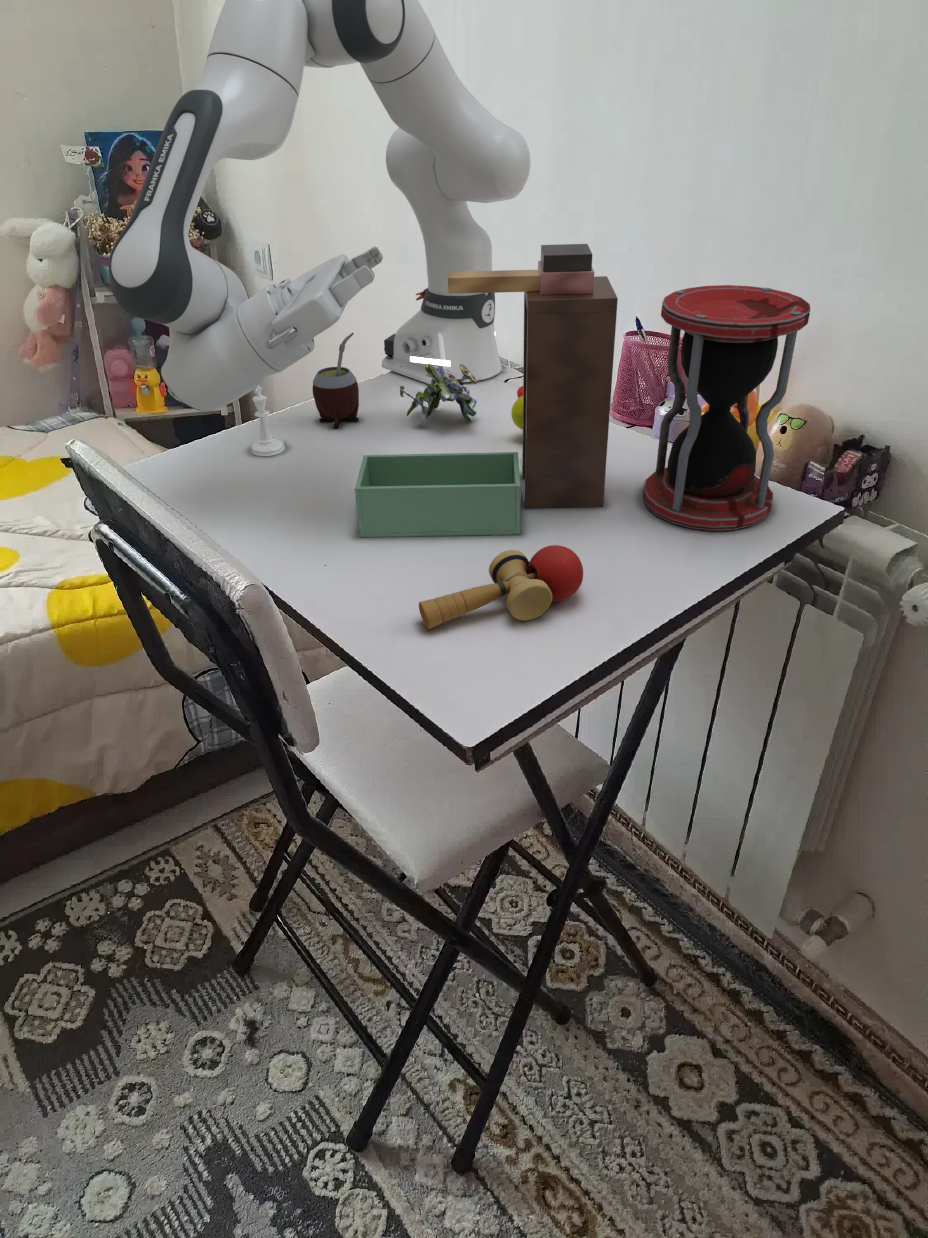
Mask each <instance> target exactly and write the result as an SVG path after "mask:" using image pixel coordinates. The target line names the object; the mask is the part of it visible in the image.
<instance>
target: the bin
mask: <svg viewBox="0 0 928 1238" xmlns="http://www.w3.org/2000/svg"><path fill="white" fill-rule="evenodd" d="M519 461H520V460H519V452H518V451H505V452H503V451H502V452H501V451H500V452H498V451H497V452H496V451H495V452H455V453H454V452H452V453H451V452H449V453H404V454H401V453H399V454H364V455H363V456H362V460H361V464H360V468H359V472H358V475H357V478H356V483H355V486H354V497H355V505H356V513H357V523H358V531H359V532H358V533H359V538H390V537H391V538H392V537H393V538H395V537H398V538H399V537H444V536H445V537H450V536H451V537H452V536H454V537H455V536H504V535H506V536H507V535H521V493H522V492H521V489H522V487H521V486H522V485H521V476H520V463H519Z"/></svg>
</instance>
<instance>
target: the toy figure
mask: <svg viewBox="0 0 928 1238" xmlns="http://www.w3.org/2000/svg"><path fill="white" fill-rule="evenodd" d="M516 396H517V399H516V400H515V401H514V403H513V404H512V407H511V411H510V414H511V420H512V422H513V424H514V425H515V426H516V428H518V429H520V430H521V431H523V385H521V386H519V388H518V389H517V391H516Z"/></svg>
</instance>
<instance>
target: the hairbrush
mask: <svg viewBox="0 0 928 1238" xmlns="http://www.w3.org/2000/svg"><path fill="white" fill-rule="evenodd" d="M589 246H590V245H588V243H565V244H564V243H563V244H541V245H540V260H537V269H508V270H492V271H466V272H449V273H448V293H449V294H459V293H495V294H496V293H498V294H499V293H524V292H537V291H540V295H562V294H593V291H594V277H595V270H594V267H593V252H592V250H591V247H589Z"/></svg>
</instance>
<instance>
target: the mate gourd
mask: <svg viewBox="0 0 928 1238" xmlns="http://www.w3.org/2000/svg"><path fill="white" fill-rule="evenodd" d="M354 334H355V333H354V332H351V333H350V334H349V335H347V336H346V337H345V338H344V339H343V341H342V342H341V343H340V344H339V347H338V351H339V352H338V359H337V365H336V366H329V367H324V368H321V369H320V370H318V371H317V372H316V374H315V376H314V377H313V379H312V380H313V381H312V395H313V400H314V404H315V407H316V409H317V412H318V414H319V419H318V420H319V423H333V430H338V429H340V427H341V425H342V423H359V420H360V418H359V417H358V412H359V407H360V389H359V384H358V381H357V378H356V376H355V374H354V373H353V372H352V371H351V369H349V368H347V367H344V366H342V364H343V363H342V362H343V356H344V352H345V349H346V344H347V342H348V341H349V340H350V339H351V338H352V337H353V336H354Z"/></svg>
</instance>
